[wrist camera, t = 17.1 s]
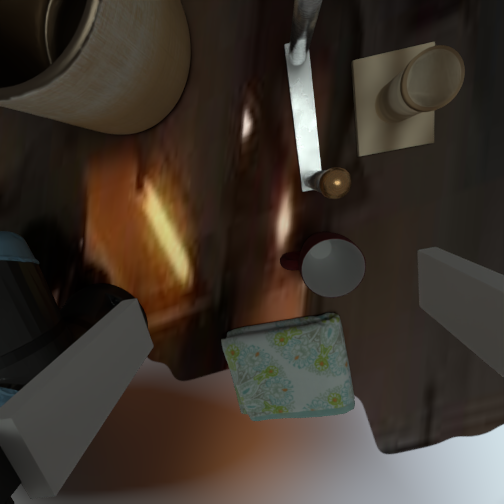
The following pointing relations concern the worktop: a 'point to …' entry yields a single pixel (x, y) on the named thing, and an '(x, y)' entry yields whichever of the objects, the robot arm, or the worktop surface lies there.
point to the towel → (290, 368)
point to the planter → (94, 61)
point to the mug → (328, 264)
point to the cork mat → (366, 119)
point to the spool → (422, 85)
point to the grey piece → (308, 106)
